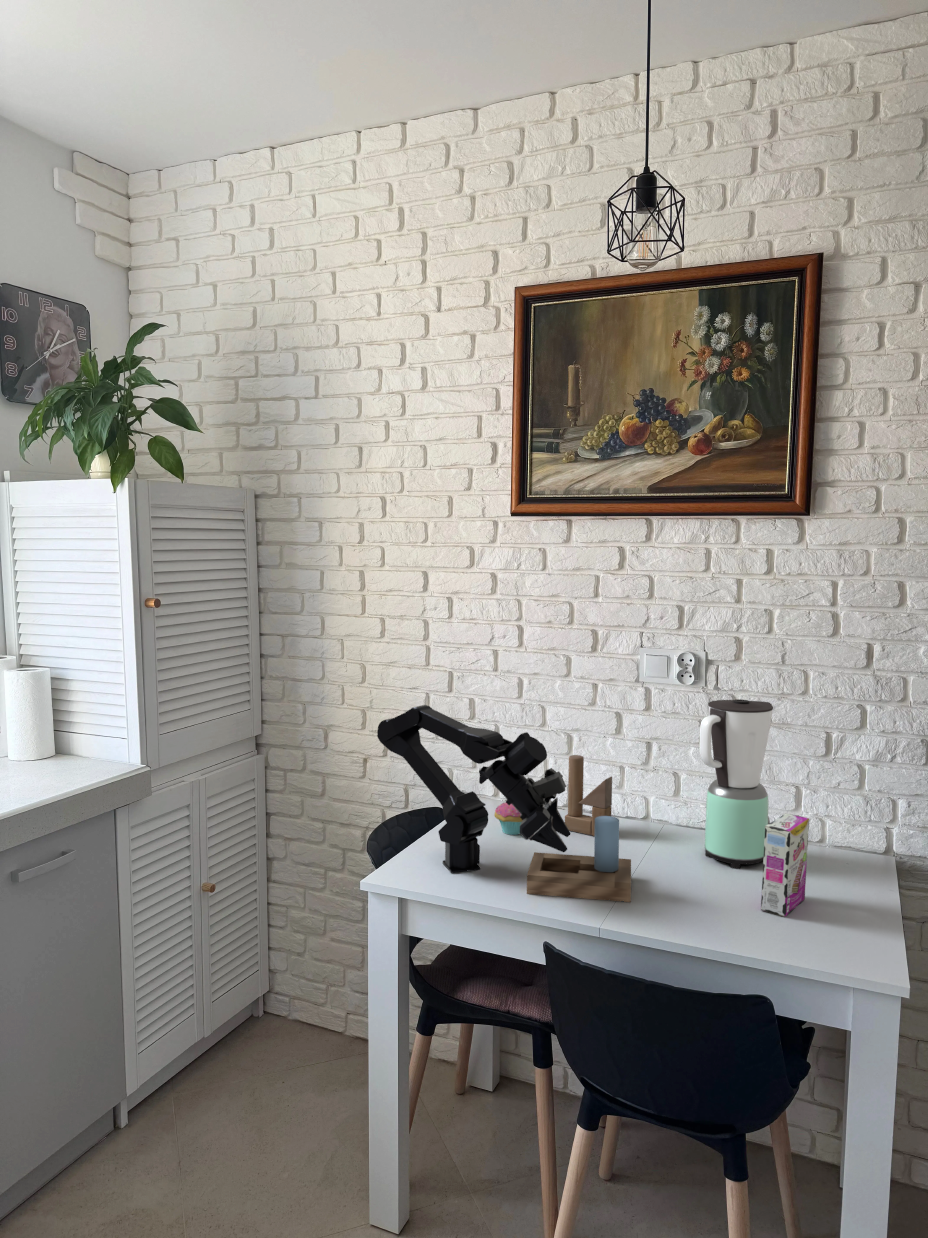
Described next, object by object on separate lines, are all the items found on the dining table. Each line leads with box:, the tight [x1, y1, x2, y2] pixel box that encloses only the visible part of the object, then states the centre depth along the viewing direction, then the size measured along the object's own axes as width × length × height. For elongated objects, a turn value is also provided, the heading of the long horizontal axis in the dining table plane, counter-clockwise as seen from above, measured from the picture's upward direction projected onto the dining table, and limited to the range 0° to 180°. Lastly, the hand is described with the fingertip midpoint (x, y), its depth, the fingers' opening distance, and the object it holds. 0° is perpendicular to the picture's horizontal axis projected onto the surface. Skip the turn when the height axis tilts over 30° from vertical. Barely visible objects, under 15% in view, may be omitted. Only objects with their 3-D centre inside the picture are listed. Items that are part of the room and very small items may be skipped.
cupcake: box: [494, 802, 523, 836], centre depth 207 cm, size 9×8×12 cm
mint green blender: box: [698, 698, 774, 870], centre depth 189 cm, size 19×13×35 cm
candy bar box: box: [760, 813, 810, 918], centre depth 165 cm, size 11×5×16 cm, turn 141°
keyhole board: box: [526, 851, 632, 903], centre depth 175 cm, size 20×13×4 cm, turn 79°
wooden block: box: [564, 754, 613, 837], centre depth 207 cm, size 4×11×18 cm, turn 55°
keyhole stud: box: [593, 815, 620, 873], centre depth 174 cm, size 6×6×13 cm
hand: (567, 843), depth 175 cm, fingers open, 9 cm apart
